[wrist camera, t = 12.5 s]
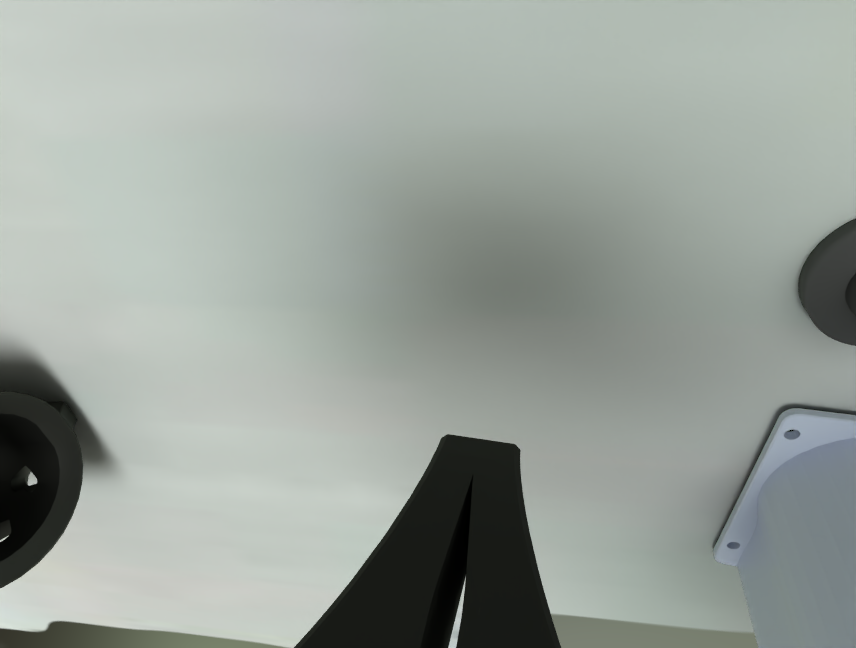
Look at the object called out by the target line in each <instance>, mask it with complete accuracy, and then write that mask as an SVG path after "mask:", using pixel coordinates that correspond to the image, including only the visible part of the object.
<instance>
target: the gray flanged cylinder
mask: <svg viewBox="0 0 856 648" xmlns="http://www.w3.org/2000/svg"><path fill="white" fill-rule="evenodd" d="M799 296H800V299H801V302H802V304H803V306H804V308H805V309H806V311H807V313H808V314H809V316H810V318H811V319H812V321H813V323H814V324H815V325H816V326H817V328H818V329H819V330H820V331H822V332H823V333H824V334H826V335H827V336H829V337H831V338H832V339H834V340H837V341H839V342H842V343H846V344H849V345H855V346H856V219H854V220H852V221H850V222H848V223H846V224H844V225H843V226H841V227H839V228H838V229H836V230H835V231H834V232H832V233H831V234H830V235H828V236H827V237H826V238H825V239H824V240H823V241H821V242H820V243H819V244H818V245H817V247H816V248H815V249H814V250H813V251H812V253H811V254H810V255H809V257H808V258H807V260H806V262H805V264H804V266H803V268H802V271H801V274H800V278H799Z"/></svg>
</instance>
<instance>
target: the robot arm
mask: <svg viewBox="0 0 856 648" xmlns="http://www.w3.org/2000/svg"><path fill="white" fill-rule="evenodd" d="M788 430H794V431H791V432H786V431H788ZM713 554H714V558H715V560H716V561H717V562H719V563H722V564H726V565H732V566H738V570H739V574H740V578H741V582H742V586H743V590H744V594H745V598H746V601H747V605H748V609H749V613H750V617H751V621H752V625H753V629H754V633H755V637H756V641H757V645H758V648H856V415H849V414H841V413H833V412H825V411H817V410H809V409H801V408H792V409H788V410H786V411H784V412H783V413H782V414H781V415H780V416H779V418H778V420H777V422H776V424H775V426H774V428H773V430H772V432H771V434H770V436H769V438H768V440H767V442H766V444H765V446H764V448H763V450H762V452H761V454H760V456H759V458H758V460H757V462H756V464H755V466H754V468H753V470H752V472H751V474H750V476H749V478H748V480H747V482H746V484H745V486H744V488H743V490H742V492H741V494H740V497H739V499H738V501H737V503H736V505H735V507H734V509H733V511H732V513H731V515H730V517H729V519H728V521H727V523H726V525H725V527H724V529H723V531H722V533H721V535H720V537H719V539H718V541H717V543H716V545H715V547H714V549H713ZM465 577H466V583H465V593H464V602H463V611H462V618H461V624H460V630H459V635H458V641H457V647H456V648H561V646H560V643H559V640H558V637H557V633H556V630H555V627H554V624H553V621H552V617H551V614H550V610H549V607H548V603H547V600H546V597H545V593H544V590H543V586H542V582H541V578H540V575H539V571H538V567H537V563H536V558H535V554H534V550H533V545H532V541H531V537H530V532H529V527H528V522H527V517H526V511H525V505H524V499H523V492H522V484H521V473H520V449H519V448H518V447H517V446H516V445H515V444H510V443H503V442H497V441H490V440H483V439H476V438H469V437H462V436H456V435H449V434H448V435H446V436H444V437H442V438H441V440H440V443H439V445H438V447H437V450H436V452H435V454H434V456H433V458H432V460H431V462H430V463H429V465H428V467H427V469H426V471H425V473H424V474H423V476H422V478H421V480H420V481H419V483H418V485H417V486H416V488H415V490H414V491H413V493H412V495H411V496H410V498H409V499H408V501H407V503H406V504H405V506H404V507H403V509H402V510H401V512H400V513H399V515H398V516H397V518H396V519H395V521H394V522H393V524H392V525H391V527H390V528H389V530H388V531H387V533H386V534H385V536H384V537H383V539H382V540H381V541H380V543H379V544H378V545H377V547H376V548H375V549H374V551H373V552H372V553H371V555H370V556H369V558H368V559H367V560H366V562H365V563H364V564H363V566H362V567H361V568H360V570H359V571H358V572H357V574H356V575H355V576H354V578H353V579H352V580H351V582H350V583H349V584H348V585H347V587H346V588H345V589H344V590H343V592H342V593H341V594H340V595H339V596H338V598H337V599H336V600H335V601H334V603H333V604H332V605H331V606H330V607H329V609H328V610H327V611H326V612H325V613H324V614H323V616H322V617H321V618H320V619H319V620H318V621H317V623H316V624H315V625H314V626H313V627H312V628H311V630H310V631H309V632H308V633H307V634H306V635H305V636H304V637H303V638H302V639H301V641H300V642H299V643H298V644H297V645H296V646H295V647H294V648H448V646H449V642H450V638H451V634H452V630H453V625H454V621H455V617H456V613H457V609H458V605H459V601H460V597H461V593H462V589H463V585H464V581H465Z"/></svg>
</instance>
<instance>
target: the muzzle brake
mask: <svg viewBox="0 0 856 648" xmlns="http://www.w3.org/2000/svg"><path fill="white" fill-rule="evenodd" d="M76 420H77V418H76V417H75V415H74V414H73V413H72V411H71V410H70V409H69V407H68V406H67V404H66V403H64V402H45V401H44V400H41V399H39V398H36V397H33V396H31V395H28V394H22V393H16V392H0V540H1V539H3V538H5V537H6V536H8V535H9V536H8V537H7V538H6V539H5V540H3V541H2V542H0V588H2V587H4V586H6V585H8V584H9V583H11V582H13V581H14V580H16V579H18V578H20V577H21V576H23V575H24V574H25V573H26V572H28V571H29V570H30V569H31V568H33V567H34V566H35V565H37V564H38V563H39V562H40V561H41V560H42V559H43V558H44V556H45V555H46V554H47V553H48V552H49V551H50V550H51V549H52V548H53V547H54V545H55V544H56V542H57V541H58V540H59V538H60V537H61V536H62V534H63V533H64V531H65V529H66V527H67V525H68V523H69V522H70V520H71V518H72V516H73V513H74V510H75V508H76V505H77V502H78V500H79V495H80V490H81V485H82V475H83V462H82V455H81V448H80V445H79V443H78V440H77V437H76V434H75V433H74V431H73V428H74V425H75V423H76ZM30 472H32V473H33V474H34V475H35V476H36V478H37V484H34V485H31V486H28V483H27V482H28V476H29V474H30Z"/></svg>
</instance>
